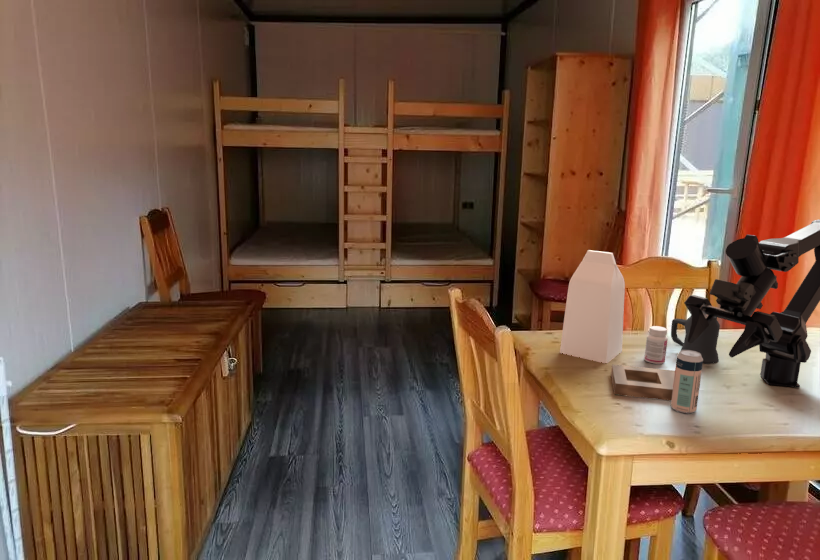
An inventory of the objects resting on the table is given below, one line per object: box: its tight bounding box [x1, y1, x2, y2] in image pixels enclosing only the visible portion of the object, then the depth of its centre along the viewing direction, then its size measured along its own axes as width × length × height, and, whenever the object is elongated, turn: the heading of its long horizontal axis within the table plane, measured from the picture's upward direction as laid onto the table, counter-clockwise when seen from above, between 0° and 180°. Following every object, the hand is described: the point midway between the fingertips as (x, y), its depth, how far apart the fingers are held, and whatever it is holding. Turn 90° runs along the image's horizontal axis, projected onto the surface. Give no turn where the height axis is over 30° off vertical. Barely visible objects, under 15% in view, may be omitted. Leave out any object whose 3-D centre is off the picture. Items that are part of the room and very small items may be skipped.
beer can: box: [670, 349, 704, 414], centre depth 124 cm, size 5×5×12 cm
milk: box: [559, 249, 626, 364], centre depth 156 cm, size 12×12×26 cm
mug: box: [670, 314, 721, 365], centre depth 156 cm, size 12×9×11 cm
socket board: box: [610, 364, 675, 402], centre depth 136 cm, size 15×12×2 cm
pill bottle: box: [643, 325, 668, 365], centre depth 152 cm, size 5×5×8 cm
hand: (708, 349), depth 125 cm, fingers open, 9 cm apart
